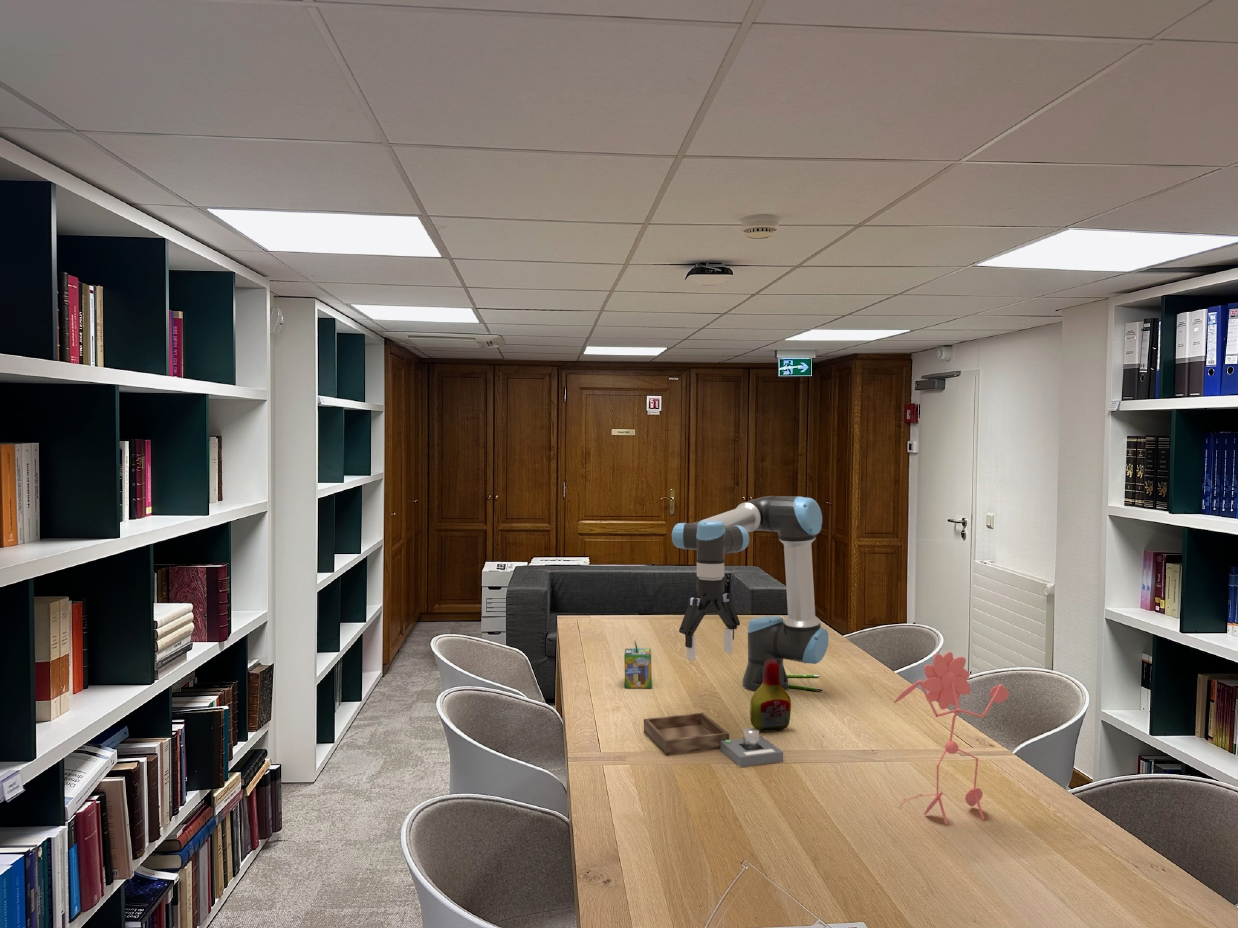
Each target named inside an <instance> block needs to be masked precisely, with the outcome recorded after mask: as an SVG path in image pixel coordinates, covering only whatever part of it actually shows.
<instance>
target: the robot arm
mask: <svg viewBox="0 0 1238 928" xmlns="http://www.w3.org/2000/svg"><path fill="white" fill-rule="evenodd" d="M822 525H823V514H822V510H821V507H820V506H819V504H818V502H817V501H816V500H815V499H813V498H811V497H805V496H804V497H803V496H801V495H799V496H796V495H795V496H794V495H793V496H791V495H790V496H789V495H788V496H786V495H783V496H781V495H777V496H776V495H768V496H761V497H759V498H758V497H757V498H755V499H751V500H747V501H745V502H742V503H739V504H738V506H736V508H734V509H731V510H728V511H725V512H722V513H719V514H717V515H712V516H710V517H707V518H704V519H701V520H699V521H695V522H690V523H689V522H688V523H687V522H680V523H676V524H675V525H674V527H673V529H672V531H671V541H672V544H673V545H674V546H675V547H676V548H678V549H683V550H694V551H696V576H697V579H696V592H697V594H698V595H697V597H688V602H687V608H686V611H685V612H684V616H683V618H682V621H681V624H680V627H679V630H678V633H680V634H682V635H685V637H684V641H685V642H684V647H685V648H686V659H687V660H691V661H693V662H694V661H696V659H697V657H696V656H697V655H696V653H697V651H696V649H697V648H696V647H697V646H696V644H697V643H696V639H697V637H696V635H695V632H696V631H697V629H698V627H699V625H700V624H701V623H702V620H703V618H704V617H705V616H707V614H711V613H716V614H717V615H718V617H719V618H720V619H721V620H722V623H723V625H725V626H726V627H724V628H723V652H725V653H728V654H733V652H734V650H733V649H734V648H733V646H734V645H733V644H734V639H735V630H737V629H738V626H740V624H741V622H740V619H739V616H738V614H737V611H736V609H735V605H734V602H733V596H732V594H731V593H727V592H725V579H724V577H725V555H726V554H732V553H734V554H735V553H739V552H742V551H744V550H745V549H747V547H748V546H749V543H750V534H749V533H751V532H755V531H762V532H763V531H764V532H772V533H777V534H778V541H780V543H782V545H783V552H784V554H783V555H784V569H785V586H786V588H785V589H786V602H787V605H786V606H787V617H785V619H784V618H783V617H782V616H779V615H778V616H777V615H776V616H775V615H771V616H770V615H769V616H768V615H767V616H760V617H755V618H752V619H750V620H749V621H748V625H747V632H746V633H747V665H746V668H745V671H744V674H743V678H742V687H743V688H744V689H746V690H750V691H752V692H756V690H757V689H758V688H759V687H760V686H761V684H762V683H763V672H764V664H765V661H767V660H769V659H775V660H776V661H777V663H778V665H779V681H780V685H781V687H782V688H783V689H784V690H785V691H787V690H788V689H789V682H790V681H789V678H788V675H787V672H786V668H785V665H784V660H787V661H794V662H798V663H802V664H811V665H812V664H813V665H816V664H818V663H820V662H821V661H822V660H823V659H824V656H826V652H827V649H828V646H829V633H828V631H827V629H826V628H824V627H821V619H820V618H819V617H817V616H816V605H815V590H814V589H815V588H814V585H815V584H814V571H813V568H814V567H813V550H812V543H813V542H814V541H815V540H816V537H817V535H818V534H820V532H821V531H822Z"/></svg>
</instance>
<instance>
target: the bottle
mask: <svg viewBox="0 0 1238 928" xmlns="http://www.w3.org/2000/svg"><path fill="white" fill-rule="evenodd" d="M791 712H792V700H791V696H790V695H789V693H788V692H787V690H784V689H783V688H782V687H781V685H780V681H779V665H778V663H777V661H776V660H775V659H769V660H767V661H765V664H764V672H763V683H762V684H761V686H760V687H759V688H758V689H757V690H756V691H754V693H753V694H752V696H751V697H750V703H749V719H750V724H751V725H752V728H756V729H758V730H759V732H763V733H764V732H779V731H784V730H785V729H787V728H788V726H789V725H790V721H791Z"/></svg>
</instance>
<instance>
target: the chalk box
mask: <svg viewBox="0 0 1238 928" xmlns="http://www.w3.org/2000/svg"><path fill="white" fill-rule="evenodd" d="M634 645H635V648H624V655H623V658H624V659H623V660H624V689H652V688H653V684H652V683H653V680H652V679H653V678H652V675H653V674H652V650H651V649H652V648H641V647H638V645H637V642H636V640H634Z"/></svg>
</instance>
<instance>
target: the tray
mask: <svg viewBox="0 0 1238 928" xmlns="http://www.w3.org/2000/svg"><path fill="white" fill-rule="evenodd" d="M643 734H645V735H646V736H647V737H648V738H649V740H650V741H651V742H653V744H655V746H656V747H657V748H658V749H659V750H660V751H661V752H662V753H663V754H664V755H665V756H671V755H672V756H673V755H680V754H681V755H682V754H689V753H695V752H696V753H698V752H705V751H713V750H720V741H724V740H730V733H729V732H728V731H727V730H725V729H724V728H723V727H722V726H720V724H718V723H717V722H715V721H714V720H713V719H711V718H710V717H709V716H708V715H707V714H705V713H704V712H696V713H686V714H678V715H677V714H676V715H668V716H659V717H650V718H644V719H643Z"/></svg>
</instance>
